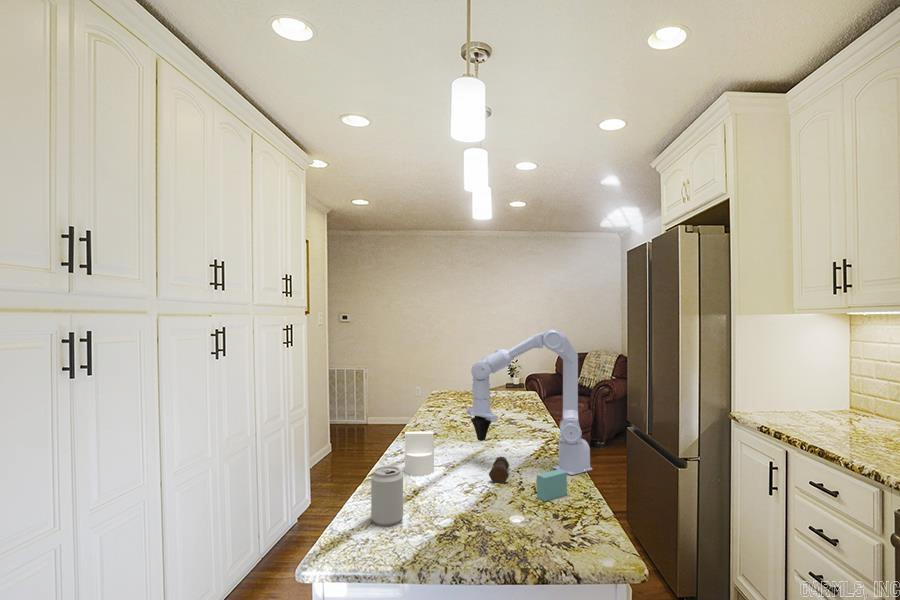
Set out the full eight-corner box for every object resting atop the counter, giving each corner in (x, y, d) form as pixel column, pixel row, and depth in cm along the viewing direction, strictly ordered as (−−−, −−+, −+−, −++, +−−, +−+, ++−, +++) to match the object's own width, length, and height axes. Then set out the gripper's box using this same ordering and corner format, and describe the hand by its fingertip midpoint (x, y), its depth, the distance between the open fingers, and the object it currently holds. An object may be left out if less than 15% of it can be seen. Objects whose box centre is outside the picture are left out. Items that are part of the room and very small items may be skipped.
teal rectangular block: (550, 487, 130) (550, 466, 130) (566, 494, 125) (566, 472, 125) (529, 494, 126) (529, 471, 126) (545, 501, 121) (544, 478, 121)
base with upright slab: (434, 466, 149) (433, 428, 150) (433, 476, 140) (433, 436, 141) (405, 466, 149) (405, 429, 150) (403, 476, 140) (403, 436, 141)
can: (389, 530, 105) (389, 476, 106) (364, 522, 109) (364, 470, 110) (409, 518, 112) (409, 467, 112) (385, 511, 116) (385, 462, 116)
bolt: (504, 473, 148) (501, 489, 134) (490, 464, 149) (486, 479, 135) (513, 457, 148) (511, 471, 133) (499, 448, 149) (495, 461, 134)
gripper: (458, 396, 156) (458, 437, 155) (484, 402, 143) (485, 447, 143) (475, 394, 159) (476, 434, 159) (502, 400, 147) (503, 443, 147)
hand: (481, 440), depth 151 cm, fingers closed
